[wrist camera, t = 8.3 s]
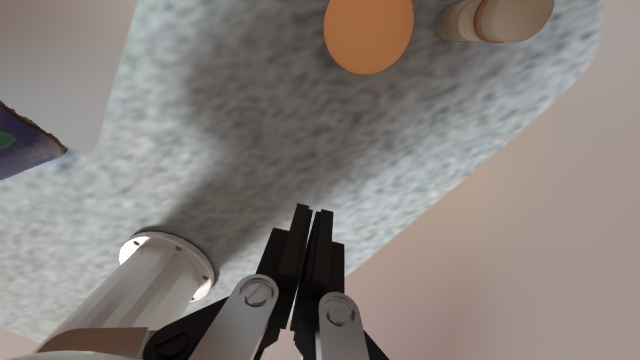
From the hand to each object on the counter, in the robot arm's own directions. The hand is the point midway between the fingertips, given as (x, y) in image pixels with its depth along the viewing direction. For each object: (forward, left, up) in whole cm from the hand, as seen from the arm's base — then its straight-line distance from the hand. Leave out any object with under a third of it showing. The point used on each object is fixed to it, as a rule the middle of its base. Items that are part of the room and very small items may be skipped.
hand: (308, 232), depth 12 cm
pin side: (+13, -3, -15) cm, 19 cm away
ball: (+9, +3, -12) cm, 15 cm away
